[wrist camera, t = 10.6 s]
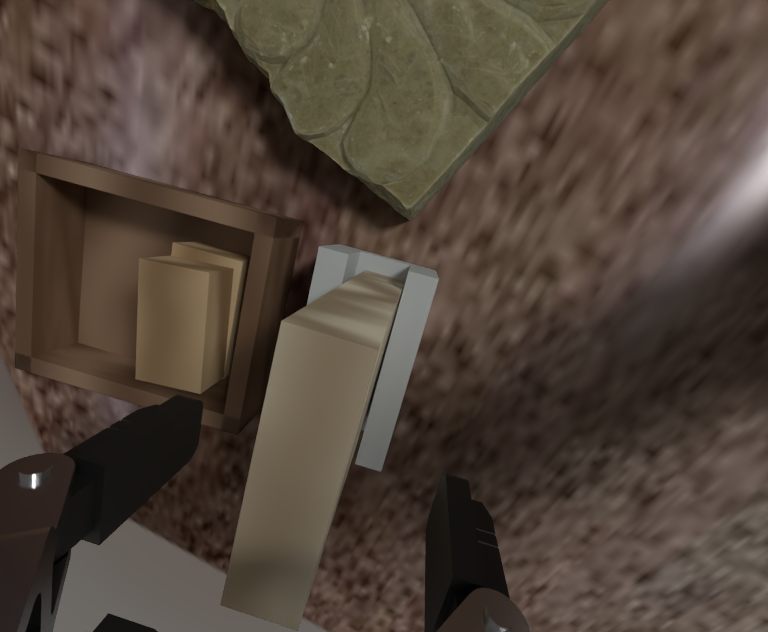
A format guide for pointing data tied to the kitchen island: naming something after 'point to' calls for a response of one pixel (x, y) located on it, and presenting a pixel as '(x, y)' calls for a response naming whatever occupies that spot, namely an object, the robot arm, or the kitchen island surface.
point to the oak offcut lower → (240, 273)
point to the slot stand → (403, 340)
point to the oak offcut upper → (182, 322)
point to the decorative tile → (402, 77)
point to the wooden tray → (135, 279)
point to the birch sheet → (307, 444)
